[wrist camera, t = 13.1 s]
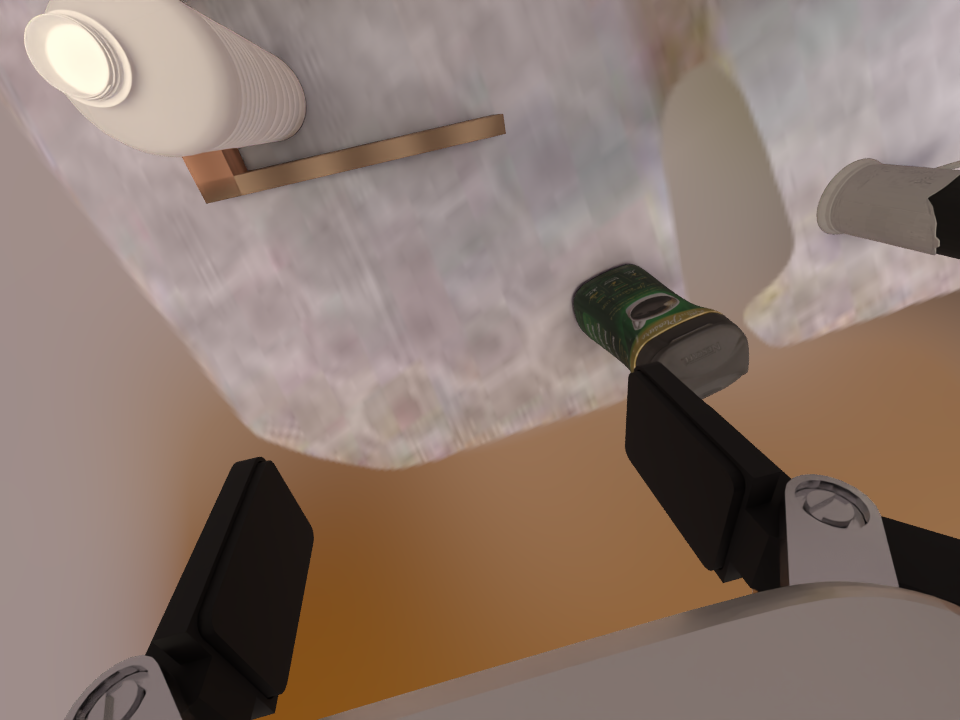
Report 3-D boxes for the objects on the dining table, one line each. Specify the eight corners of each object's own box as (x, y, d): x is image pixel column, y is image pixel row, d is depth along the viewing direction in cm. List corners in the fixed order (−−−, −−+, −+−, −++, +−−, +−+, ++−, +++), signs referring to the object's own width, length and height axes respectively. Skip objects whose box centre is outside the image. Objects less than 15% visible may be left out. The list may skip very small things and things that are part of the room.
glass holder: (811, 190, 48) (962, 214, 36) (927, 109, 46) (1133, 104, 33) (822, 248, 53) (959, 288, 40) (928, 177, 51) (1110, 195, 38)
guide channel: (462, -88, 31) (471, -114, 28) (495, 132, 39) (505, 133, 36) (115, -20, 29) (79, -39, 26) (223, 196, 37) (206, 203, 34)
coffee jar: (581, 340, 53) (663, 432, 37) (564, 288, 49) (648, 367, 33) (650, 307, 52) (762, 387, 37) (639, 252, 48) (760, 315, 32)
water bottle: (322, 122, 36) (224, 120, 15) (256, 154, 36) (68, 198, 15) (256, 0, 31) (-22, -256, 10) (182, 38, 32) (-241, -135, 10)
